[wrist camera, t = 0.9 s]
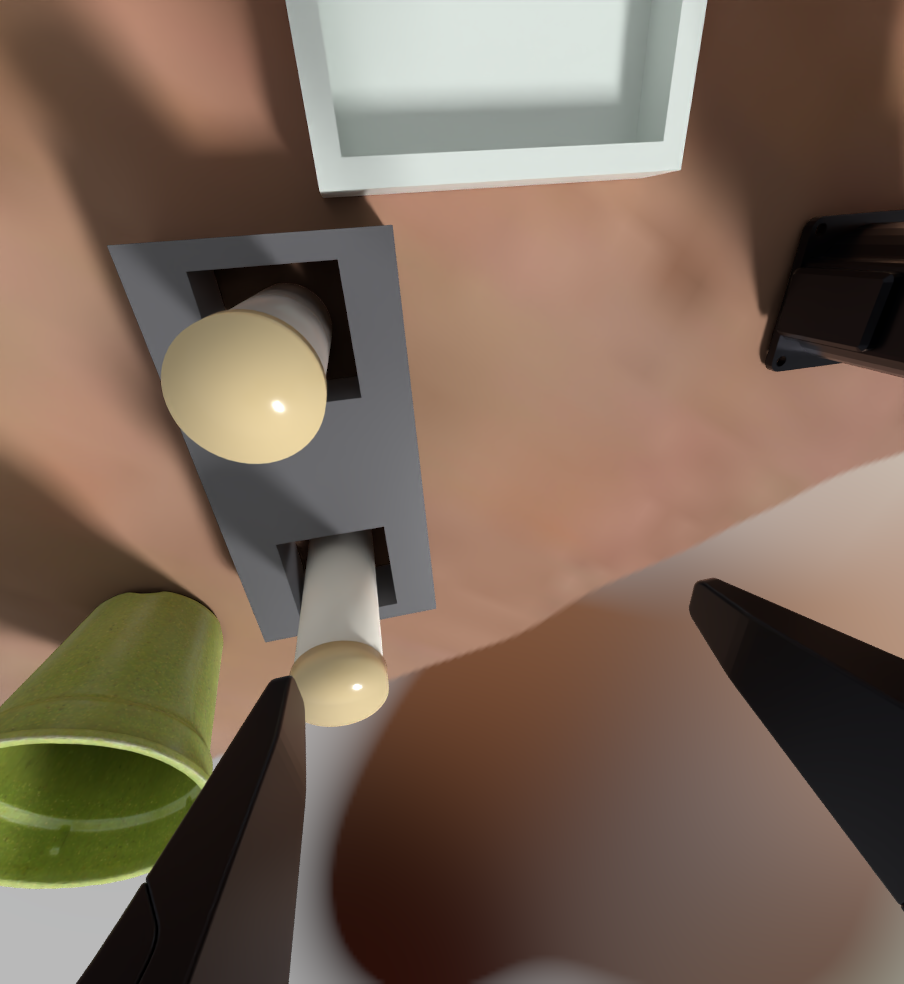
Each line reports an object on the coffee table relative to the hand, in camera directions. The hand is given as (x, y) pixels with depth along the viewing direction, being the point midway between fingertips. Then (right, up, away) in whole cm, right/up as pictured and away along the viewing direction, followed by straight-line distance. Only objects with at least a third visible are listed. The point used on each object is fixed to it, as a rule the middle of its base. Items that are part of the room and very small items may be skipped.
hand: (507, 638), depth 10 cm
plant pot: (-16, -4, +13) cm, 21 cm away
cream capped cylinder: (-7, +10, +7) cm, 14 cm away
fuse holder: (-7, +5, +10) cm, 13 cm away
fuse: (-7, +1, +12) cm, 14 cm away
